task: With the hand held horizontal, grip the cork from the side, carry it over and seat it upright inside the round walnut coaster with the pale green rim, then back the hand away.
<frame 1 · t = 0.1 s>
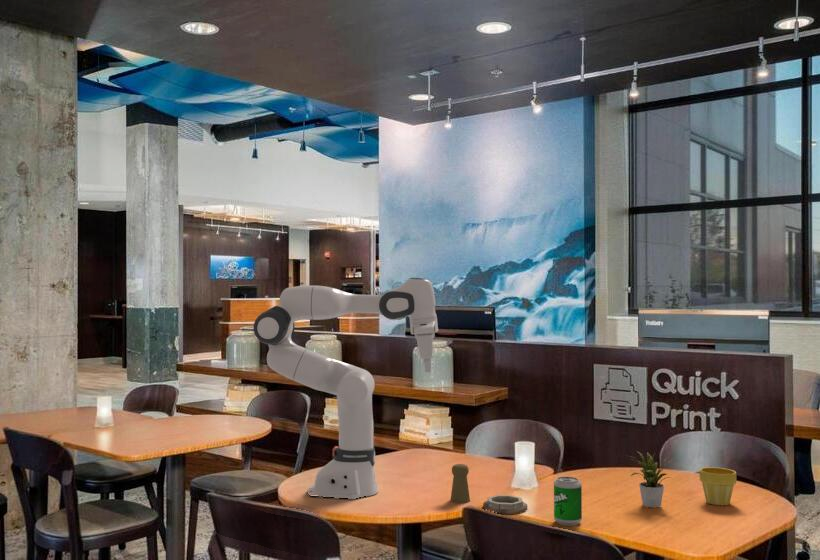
hand: (428, 370, 244), 39 cm above the table, tool pointing down, fingers open, 8 cm apart
soda can: (567, 523, 210), on the table
plant pot: (718, 503, 231), on the table
cork: (460, 501, 233), on the table
house plant: (647, 505, 228), on the table
seat: (505, 508, 225), on the table
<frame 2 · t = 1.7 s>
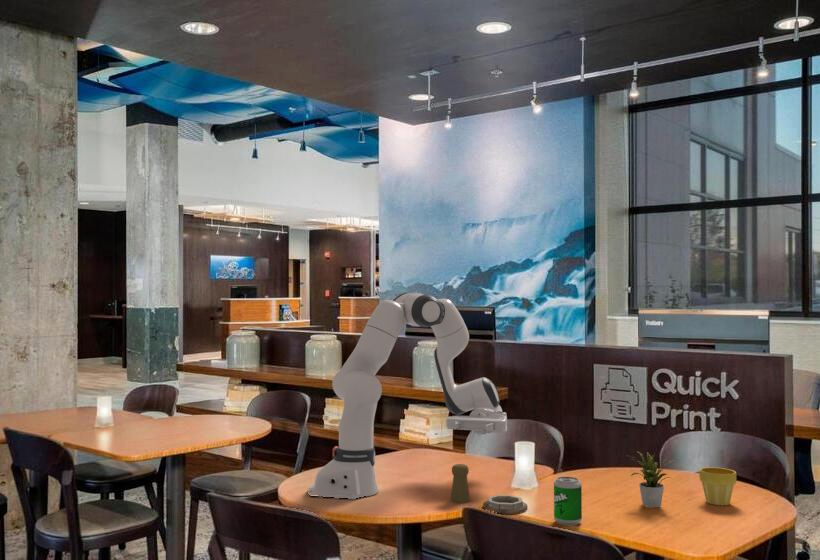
hand: (470, 427, 245), 20 cm above the table, tool horizontal, fingers open, 8 cm apart
nothing on the table moved.
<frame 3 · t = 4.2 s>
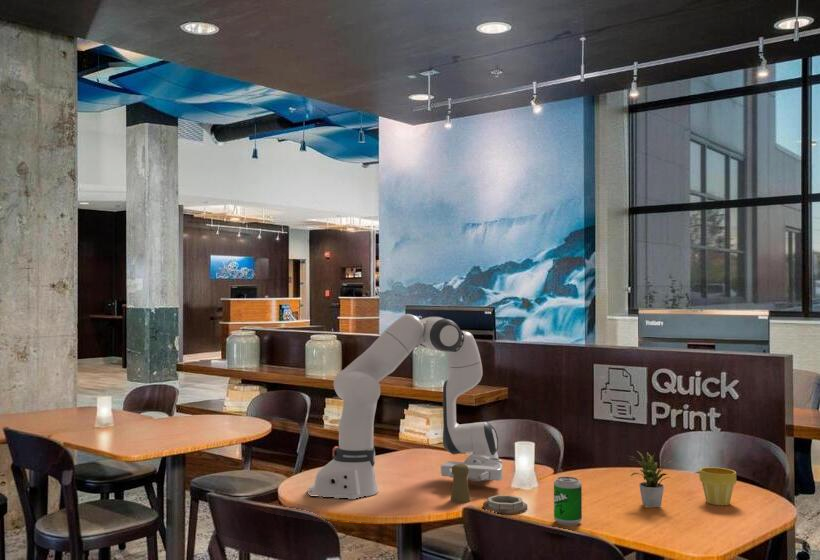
hand: (465, 476, 240), 6 cm above the table, tool horizontal, fingers open, 8 cm apart
nothing on the table moved.
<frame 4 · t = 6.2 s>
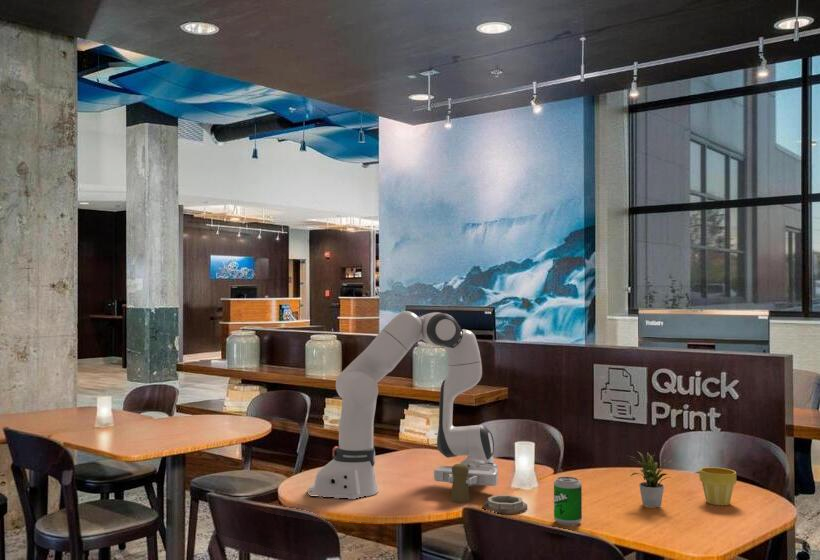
hand: (459, 481, 233), 6 cm above the table, tool horizontal, fingers closed on cork, 4 cm apart
cork: (460, 501, 233), on the table, touching gripper
everything else where it was.
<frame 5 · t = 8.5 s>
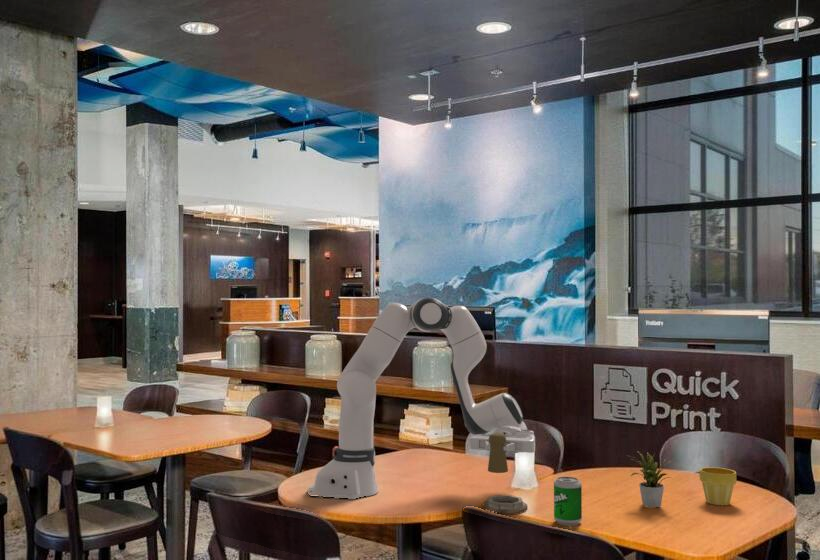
hand: (496, 448, 226), 17 cm above the table, tool horizontal, fingers closed on cork, 4 cm apart
cork: (497, 471, 227), point 10 cm above the table, touching gripper
everything else where it was.
when the fingers open (8 cm above the table, at t = 10.9 s): cork stays where it is, resting on seat.
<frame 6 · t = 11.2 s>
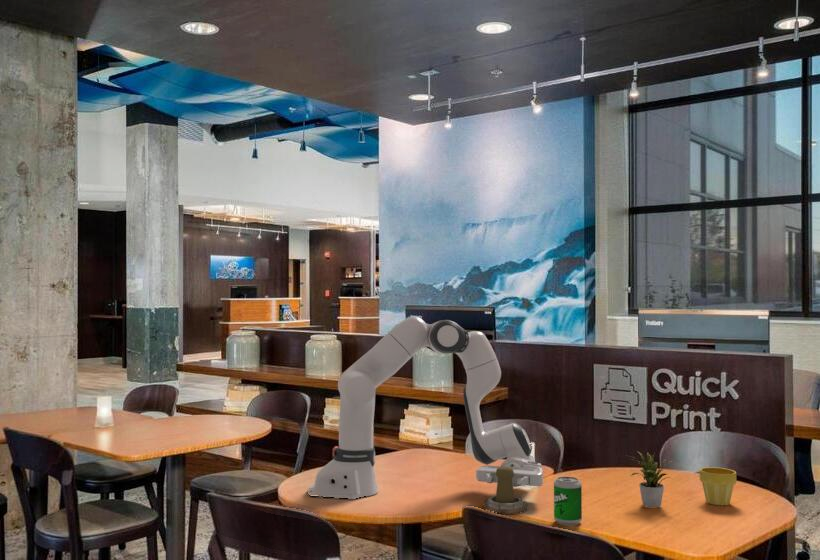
hand: (504, 481, 224), 8 cm above the table, tool horizontal, fingers open, 8 cm apart
cork: (505, 505, 225), point 1 cm above the table, touching seat
everything else where it was.
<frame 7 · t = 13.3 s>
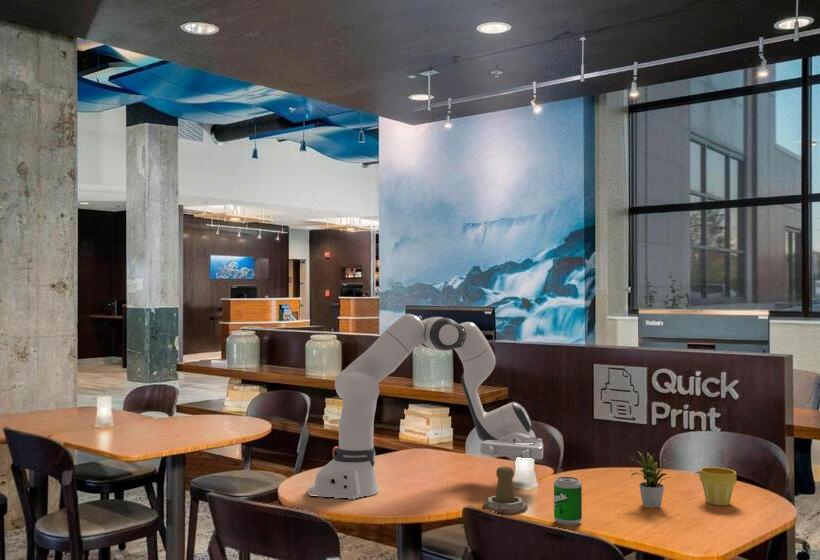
hand: (506, 453, 238), 13 cm above the table, tool horizontal, fingers open, 8 cm apart
nothing on the table moved.
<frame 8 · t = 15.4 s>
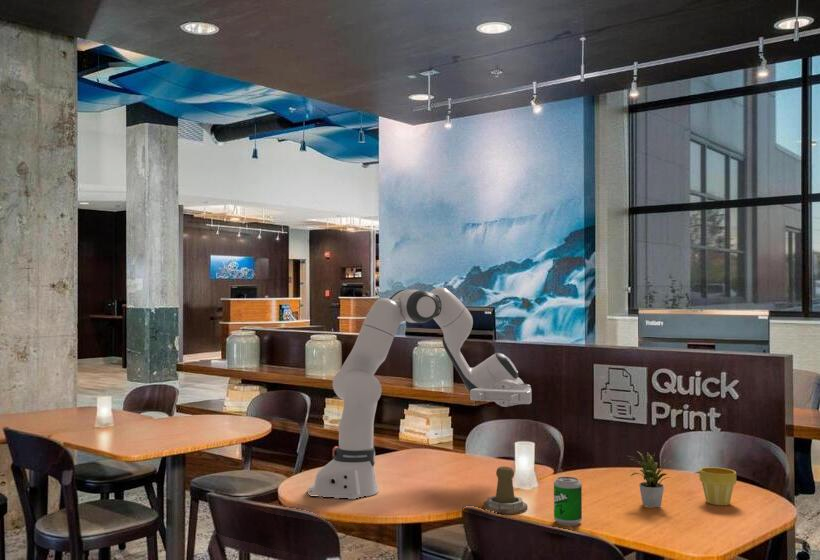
hand: (495, 398, 244), 30 cm above the table, tool horizontal, fingers open, 8 cm apart
nothing on the table moved.
at the end: cork 0.1 cm off-centre on the seat, point 0.8 cm above the seat's base; cork tilted 0°; the gripper is holding nothing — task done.
